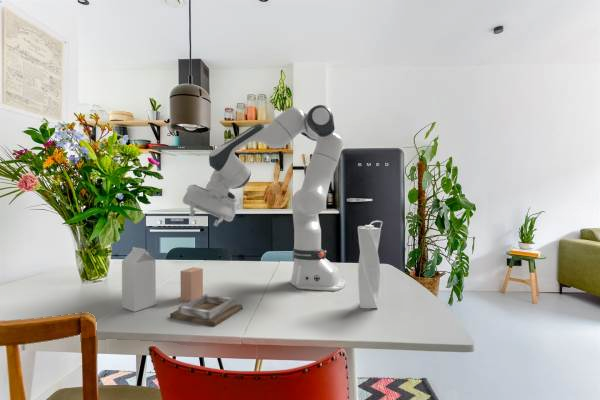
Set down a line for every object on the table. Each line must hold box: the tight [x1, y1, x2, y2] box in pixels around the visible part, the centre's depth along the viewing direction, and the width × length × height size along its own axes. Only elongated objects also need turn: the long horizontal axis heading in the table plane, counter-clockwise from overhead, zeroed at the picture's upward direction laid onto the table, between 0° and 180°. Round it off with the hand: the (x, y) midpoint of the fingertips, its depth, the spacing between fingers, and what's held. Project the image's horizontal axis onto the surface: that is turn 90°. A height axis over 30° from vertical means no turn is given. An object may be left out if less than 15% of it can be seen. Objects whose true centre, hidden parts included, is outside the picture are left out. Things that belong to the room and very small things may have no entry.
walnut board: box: [169, 293, 244, 327], centre depth 93 cm, size 16×14×3 cm
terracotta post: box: [180, 266, 204, 302], centre depth 107 cm, size 4×6×10 cm
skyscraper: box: [357, 219, 384, 310], centre depth 100 cm, size 8×8×28 cm
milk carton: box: [121, 246, 157, 312], centre depth 98 cm, size 7×7×19 cm
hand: (203, 220), depth 114 cm, fingers open, 8 cm apart
